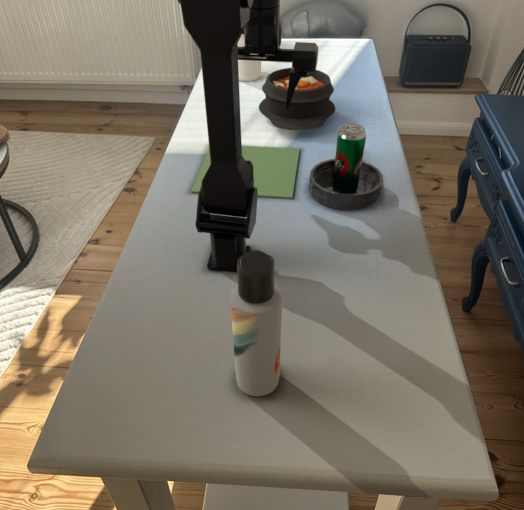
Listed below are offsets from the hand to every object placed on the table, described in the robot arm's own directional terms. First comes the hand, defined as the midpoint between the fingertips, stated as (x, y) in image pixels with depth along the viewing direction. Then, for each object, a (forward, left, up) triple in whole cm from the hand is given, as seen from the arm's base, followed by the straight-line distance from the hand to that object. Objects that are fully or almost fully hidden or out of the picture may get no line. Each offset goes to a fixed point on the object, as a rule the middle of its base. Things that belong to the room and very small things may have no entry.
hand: (261, 107), depth 87 cm
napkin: (+4, +3, -14) cm, 15 cm away
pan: (-2, -17, -14) cm, 22 cm away
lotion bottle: (-51, -6, -14) cm, 54 cm away
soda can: (-2, -17, -14) cm, 22 cm away
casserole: (+32, -5, -14) cm, 35 cm away
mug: (+58, +11, -14) cm, 60 cm away
